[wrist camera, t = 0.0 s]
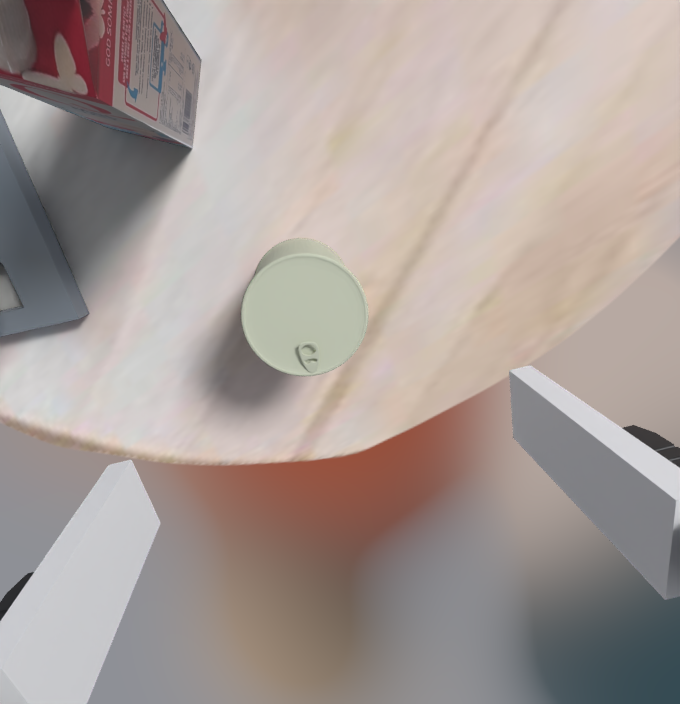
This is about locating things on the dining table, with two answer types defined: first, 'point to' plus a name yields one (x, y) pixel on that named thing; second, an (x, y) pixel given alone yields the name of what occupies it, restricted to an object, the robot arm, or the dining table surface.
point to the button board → (31, 251)
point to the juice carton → (104, 63)
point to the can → (304, 309)
